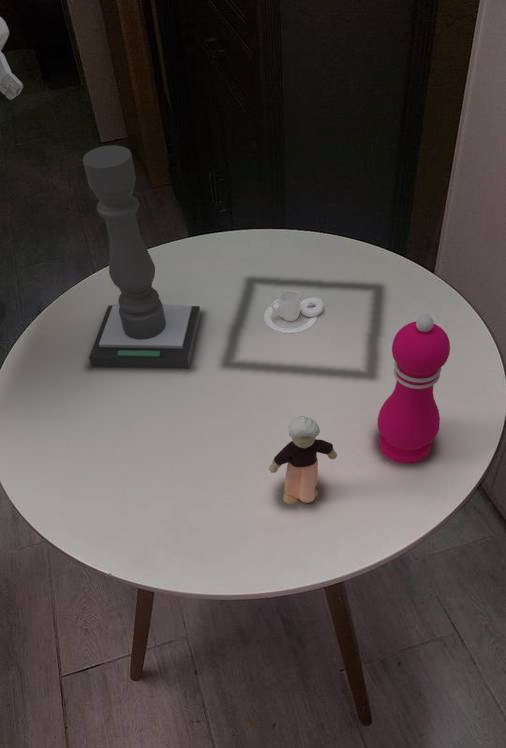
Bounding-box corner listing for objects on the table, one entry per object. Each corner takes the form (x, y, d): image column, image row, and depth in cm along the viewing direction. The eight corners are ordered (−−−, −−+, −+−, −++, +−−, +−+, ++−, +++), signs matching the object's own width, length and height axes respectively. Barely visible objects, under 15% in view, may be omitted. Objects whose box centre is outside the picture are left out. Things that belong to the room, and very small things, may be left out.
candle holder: (134, 345, 96) (93, 174, 77) (116, 323, 100) (72, 154, 81) (173, 328, 98) (142, 158, 79) (153, 307, 101) (119, 139, 83)
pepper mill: (362, 447, 85) (375, 317, 70) (400, 416, 88) (419, 286, 73) (408, 478, 81) (432, 349, 66) (446, 446, 84) (477, 315, 69)
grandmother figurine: (282, 518, 78) (278, 445, 69) (268, 494, 81) (263, 420, 71) (341, 494, 80) (345, 419, 71) (325, 471, 83) (328, 396, 73)
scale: (92, 369, 97) (87, 354, 95) (111, 316, 105) (107, 301, 103) (189, 371, 96) (186, 356, 94) (201, 317, 104) (198, 302, 102)
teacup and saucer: (325, 304, 104) (326, 281, 101) (319, 337, 99) (319, 315, 96) (268, 300, 105) (267, 278, 102) (259, 333, 100) (258, 311, 97)
